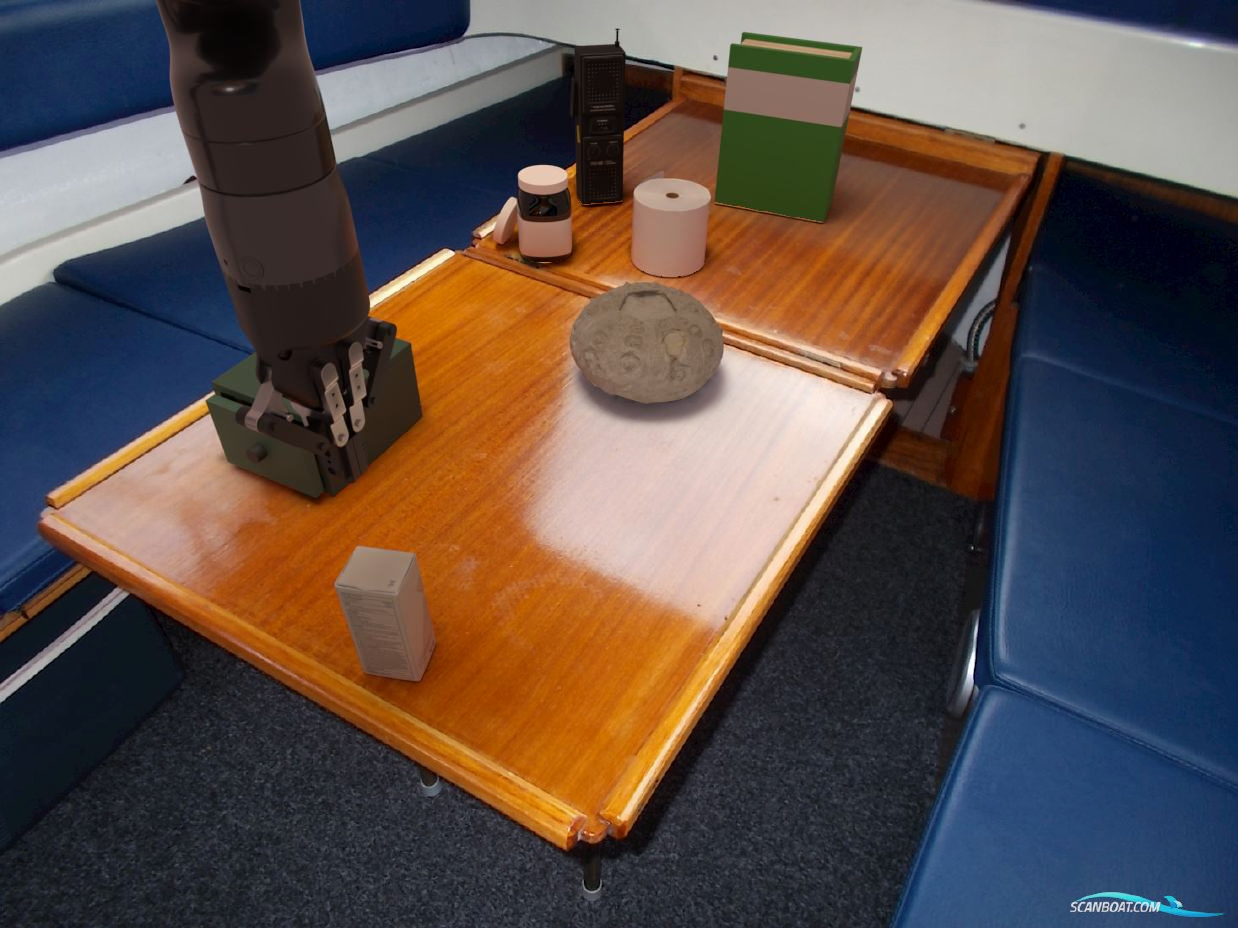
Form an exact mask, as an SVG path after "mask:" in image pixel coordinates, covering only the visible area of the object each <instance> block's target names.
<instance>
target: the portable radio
mask: <svg viewBox="0 0 1238 928" xmlns="http://www.w3.org/2000/svg"><path fill="white" fill-rule="evenodd" d="M614 30H615V41H614V43H609V44H607V43H606V44H588V45H575V46H574V58H573V59H574V60H573V61H574V64H573V65H574V76H571V81H570V82H571V83H570V102H569V103H570V104H569V105H570V106H569V116H570V117H571V119H572V120H574V121H575V125H574V126H575V188H576V189H575V191H576V193H577V194H576V193H575V194H576V197H577V196H578V197H577V199H578V198H579V199H580V201H581V203H582V204H591V203H603V202H615V201H621V200H623V201H624V155H625V154H624V153H625V152H624V149H625V148H624V147H625V145H624V144H625V103H626V101H625V100H626V99H625V98H626V68H627V67H626V63H627V62H626V61H627V54H626V53H627V52H626V51H625V49H624V48H623V47H622V46H621V44H620V43H621V42H620V41H619V31H620V30H621V29H620V28H614ZM574 118H575V119H574ZM579 199H578V200H579ZM580 201H579V202H580ZM581 203H580V204H581Z"/></svg>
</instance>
